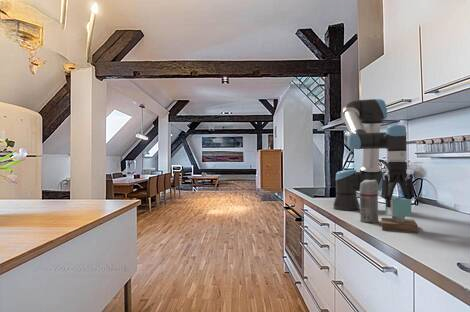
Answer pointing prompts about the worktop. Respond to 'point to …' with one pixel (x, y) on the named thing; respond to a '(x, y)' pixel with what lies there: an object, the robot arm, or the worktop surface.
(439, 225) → the worktop surface
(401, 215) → the teal shadow box frame
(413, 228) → the brown square board
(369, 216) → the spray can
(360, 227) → the worktop surface
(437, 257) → the worktop surface
